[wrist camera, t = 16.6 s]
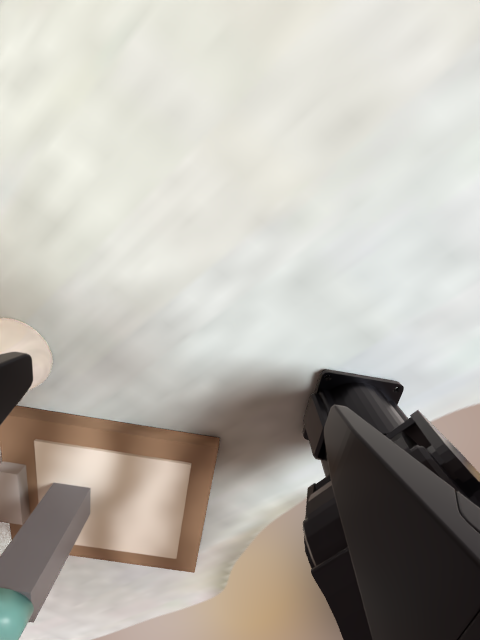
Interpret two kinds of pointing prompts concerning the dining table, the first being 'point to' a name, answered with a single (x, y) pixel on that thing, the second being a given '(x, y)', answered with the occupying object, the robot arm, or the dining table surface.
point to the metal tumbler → (26, 347)
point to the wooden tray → (112, 483)
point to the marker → (39, 555)
